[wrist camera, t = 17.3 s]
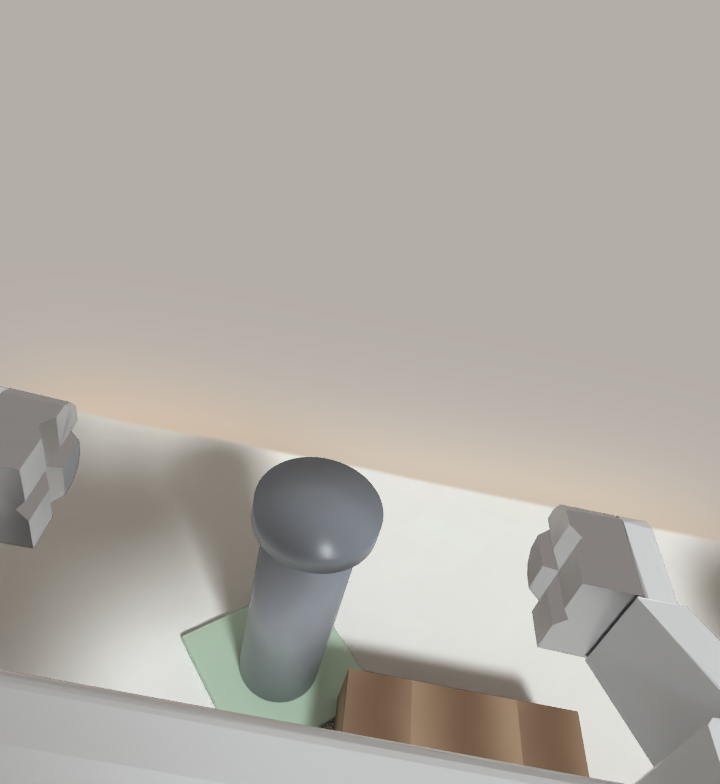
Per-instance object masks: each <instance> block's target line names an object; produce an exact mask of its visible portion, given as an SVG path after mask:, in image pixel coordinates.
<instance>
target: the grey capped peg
mask: <svg viewBox="0 0 720 784" xmlns="http://www.w3.org/2000/svg"><path fill="white" fill-rule="evenodd" d="M251 522H252V527H253V531H254V533H255V536H256V538H257V540H258V541H259V543H260V548H259V554H258V559H257V565H256V570H255V576H254V581H253V587H252V592H251V598H250V603H249V609H248V615H247V620H246V626H245V631H244V637H243V642H242V648H241V653H240V660H239V669H240V674H241V677H242V679H243V681H244V683H245V685H246V686H247V687H248V689H249V690H250V691H251V692H252V693H253V694H255V695H256V696H258V697H260V698H262V699H264V700H267V701H270V702H278V703H281V702H289V701H292V700H295V699H297V698H299V697H301V696H302V695H304V694H305V693H306V692H307V691H308V690H309V689H310V688H311V686H312V685H313V683H314V681H315V679H316V677H317V674H318V671H319V668H320V664H321V661H322V658H323V655H324V652H325V649H326V646H327V643H328V640H329V637H330V634H331V631H332V628H333V625H334V622H335V619H336V616H337V613H338V610H339V607H340V604H341V601H342V598H343V595H344V592H345V589H346V586H347V583H348V580H349V577H350V574H351V571H352V568H353V567H354V566H356V565H357V564H359V563H360V562H361V561H363V560H364V559H365V558H366V557H367V556H368V555H369V554H370V552H371V551H372V549H373V547H374V545H375V543H376V540H377V537H378V534H379V532H380V529H381V526H382V522H383V507H382V503H381V500H380V497H379V495H378V493H377V491H376V490H375V488H374V487H373V486H372V484H371V483H370V482H369V481H368V480H367V479H366V478H365V477H364V476H363V475H361V474H360V473H359V472H357V471H356V470H354V469H352V468H351V467H349V466H347V465H345V464H342V463H340V462H337V461H333V460H329V459H325V458H318V457H303V458H296V459H291V460H288V461H285V462H282V463H280V464H278V465H276V466H275V467H273V468H272V469H270V470H269V471H268V472H267V473H266V474H265V475H264V476H263V477H262V478H261V480H260V481H259V483H258V485H257V487H256V490H255V494H254V500H253V507H252V514H251Z"/></svg>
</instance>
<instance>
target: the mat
mask: <svg viewBox="0 0 720 784" xmlns="http://www.w3.org/2000/svg"><path fill="white" fill-rule="evenodd" d="M248 609H249V605H248V606H246V607H244V608H242V609H240V610H238V611H236V612H233V613H231V614H229V615H227V616H225V617H223V618H220V619H218V620H216V621H214V622H212V623H210V624H207V625H205V626H203V627H201V628H199V629H197V630H194V631H192V632H190V633H188V634H186V635H184V636H182V642H183V644H184V646H185V648H186V650H187V652H188V654H189V656H190V658H191V660H192V662H193V664H194V666H195V668H196V670H197V672H198V674H199V676H200V678H201V680H202V682H203V684H204V686H205V688H206V690H207V692H208V694H209V696H210V698H211V700H212V702H213V704H214V706H215V708H216V709H219V710H225V711H230V712H236V713H241V714H247V715H252V716H258V717H263V718H269V719H274V720H279V721H285V722H290V723H296V724H301V725H307V726H312V727H318V728H319V727H321V726H322V725H324V724H326V723H327V722H329V721H331V720H332V719H334V718H335V716H336V708H337V699H338V695H339V692H340V690H341V687H342V685H343V682H344V680H345V677H346V675H347V672H348V669H349V668H351V669H356V670H362V669H361V667H360V666H359V664H358V663H357V661H356V660H355V658H354V657H353V655H352V654H351V652H350V651H349V649H348V648H347V646H346V645H345V643H344V642H343V640H342V639H341V637H340V636H339V634H338V633H337V631H336V630H335V628H334V627H333V628H332V631H331V634H330V637H329V640H328V643H327V646H326V649H325V652H324V655H323V658H322V661H321V664H320V668H319V671H318V674H317V677H316V679H315V681H314V683H313V685H312V686H311V688H310V689H309V690H308V691H307V692H306V693H305V694H304V695H302V696H301V697H299V698H297V699H295V700H292V701H289V702H281V703H278V702H270V701H267V700H264V699H262V698H260V697H258V696H256V695H255V694H253V693H252V692H251V691H250V690H249V689H248V687H247V686H246V685H245V683H244V681H243V679H242V677H241V674H240V669H239V660H240V653H241V648H242V642H243V637H244V631H245V626H246V620H247V615H248ZM362 671H363V670H362Z"/></svg>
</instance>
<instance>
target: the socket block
mask: <svg viewBox="0 0 720 784" xmlns="http://www.w3.org/2000/svg"><path fill="white" fill-rule="evenodd" d="M333 730H334V731H340V732H345V733H350V734H356V735H361V736H367V737H372V738H378V739H383V740H388V741H394V742H399V743H405V744H410V745H416V746H421V747H427V748H432V749H437V750H443V751H448V752H454V753H459V754H465V755H470V756H475V757H481V758H486V759H492V760H497V761H503V762H508V763H513V764H519V765H524V766H530V767H535V768H541V769H546V770H552V771H557V772H563V773H568V774H573V775H579V776H584V777H589V773H588V767H587V762H586V756H585V750H584V744H583V739H582V733H581V727H580V722H579V716H578V712H577V711H572V710H566V709H561V708H556V707H551V706H545V705H540V704H535V703H530V702H524V701H519V700H514V699H509V698H503V697H498V696H493V695H488V694H482V693H477V692H472V691H467V690H461V689H456V688H451V687H446V686H440V685H435V684H430V683H425V682H419V681H414V680H409V679H404V678H398V677H393V676H388V675H383V674H377V673H372V672H367V671H362V670H356V669H351V668H349V669H348V672H347V675H346V677H345V680H344V682H343V685H342V687H341V690H340V692H339V695H338V699H337V708H336V716H335V718H334V727H333Z"/></svg>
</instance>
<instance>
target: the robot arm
mask: <svg viewBox="0 0 720 784" xmlns="http://www.w3.org/2000/svg"><path fill="white" fill-rule="evenodd" d="M76 422H77V414H76V407H75V405H74V404H72V403H70V402H67V401H62V400H58V399H54V398H50V397H45V396H41V395H36V394H33V393H28V392H24V391H20V390H15V389H11V388H9V389H8V388H4V387H0V543H4V544H10V545H16V546H22V547H28V548H34V546H35V545H36V543H37V541H38V540H39V538H40V536H41V535H42V533H43V531H44V530H45V528H46V526H47V525H48V523H49V521H50V520H51V518H52V516H53V514H52V506H51V502H53V501H55V500H57V499H58V498H60V497H62V496H64V495H65V494H66V492H67V491H68V489H69V487H70V485H71V484H72V482H73V479H74V476H75V473H76V470H77V467H78V464H79V455H80V445H79V440H78V439H77V437H76V436H75V435H74V434H73V433H72V432H71V430H72V428H73V427H74V425H75V424H76ZM548 522H549V528H550V530H548V531H546V532H544V533H542V534H540V535H538V536H537V538H536V540H535V542H534V544H533V546H532V547H531V551H530V555H529V559H528V570H527V576H528V585H529V589H530V590H531V591H532V593H533V594H534V595H535V597H536V598H537V599H538V600H539V601H538V603H537V604H536V606H535V608H534V609H533V611H532V614H533V621H534V628H535V635H536V642H537V647H540V648H544V649H549V650H553V651H558V652H562V653H567V654H571V655H576V656H580V657H584V658H586V660H585V661H586V662H587V664H588V665H589V667H590V668H591V670H592V672H593V673H594V675H595V676H596V678H597V679H598V681H599V682H600V684H601V686H602V687H603V689H604V690H605V692H606V693H607V695H608V696H609V698H610V699H611V701H612V703H613V704H614V706H615V707H616V709H617V710H618V712H619V713H620V715H621V717H622V718H623V720H624V721H625V723H626V724H627V726H628V727H629V729H630V731H631V732H632V734H633V735H634V737H635V738H636V740H637V741H638V743H639V744H640V746H641V748H642V749H643V751H644V752H645V754H646V755H647V757H648V758H649V760H650V762H651V763H652V765H653V766H654V767H653V768H652V769H651V770H650V771H649V772H648V773H646V774H645V775H644V776H643V777H642V778H640V779H639V780H638V781H637V782H636V783H635V784H720V641H719V640H718V639H717V638H716V637H715V635H714V634H713V633H712V632H711V631H710V630H709V629H708V628H707V627H706V626H705V625H704V624H703V623H702V622H701V621H700V620H699V619H698V618H697V617H696V616H695V615H694V614H693V613H692V611H691V610H690V609H689V608H688V607H686V606H682V605H678V602H677V600H676V597H675V594H674V591H673V588H672V585H671V582H670V579H669V577H668V574H667V571H666V568H665V565H664V562H663V559H662V556H661V554H660V551H659V548H658V545H657V542H656V539H655V536H654V533H653V531H652V528H651V526H650V525H649V524H648V523H647V522H645V521H640V520H635V519H630V518H625V517H619V516H613V515H609V514H604V513H599V512H594V511H589V510H584V509H579V508H574V507H569V506H564V505H559V506H557V507H556V508H555V509H554V510H553V511H552V513H551V515H550V516H549V518H548ZM0 784H622V783H617V782H612V781H606V780H601V779H595V778H590V777H584V776H579V775H573V774H568V773H563V772H557V771H552V770H546V769H541V768H535V767H530V766H524V765H519V764H513V763H508V762H503V761H497V760H492V759H486V758H481V757H475V756H470V755H465V754H459V753H454V752H448V751H443V750H437V749H432V748H427V747H421V746H416V745H410V744H405V743H399V742H394V741H388V740H383V739H378V738H372V737H367V736H361V735H356V734H350V733H345V732H340V731H334V730H329V729H323V728H318V727H312V726H307V725H301V724H296V723H290V722H285V721H279V720H274V719H269V718H263V717H258V716H252V715H247V714H241V713H236V712H230V711H225V710H219V709H214V708H208V707H203V706H197V705H192V704H186V703H181V702H175V701H170V700H164V699H159V698H154V697H148V696H143V695H137V694H132V693H126V692H121V691H115V690H110V689H105V688H99V687H94V686H88V685H83V684H77V683H72V682H66V681H61V680H55V679H50V678H45V677H39V676H34V675H28V674H23V673H17V672H12V671H6V670H1V669H0Z"/></svg>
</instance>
